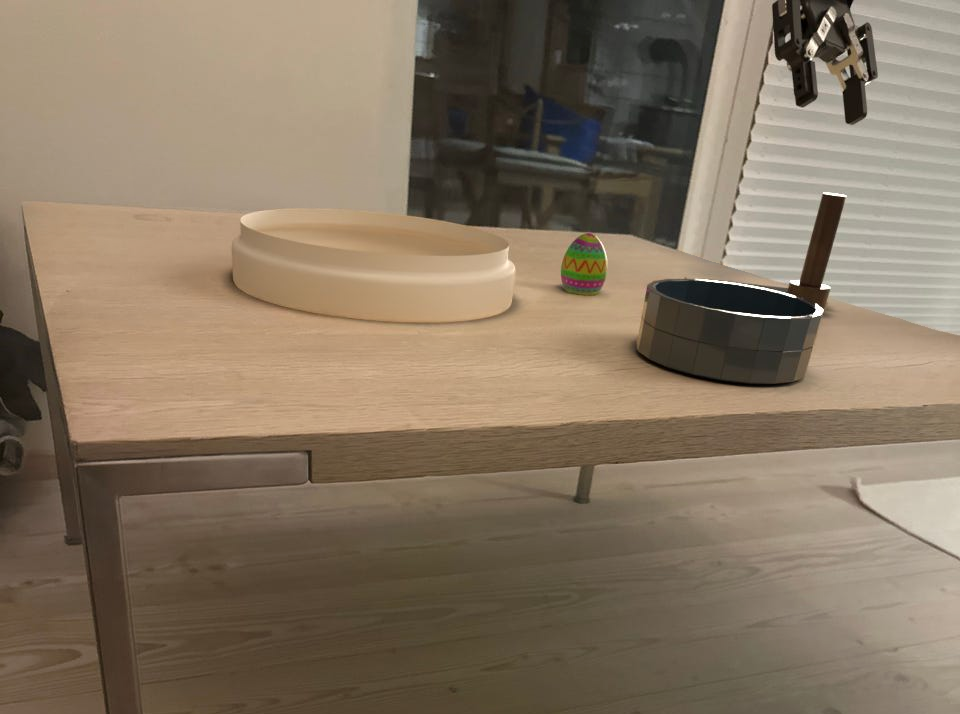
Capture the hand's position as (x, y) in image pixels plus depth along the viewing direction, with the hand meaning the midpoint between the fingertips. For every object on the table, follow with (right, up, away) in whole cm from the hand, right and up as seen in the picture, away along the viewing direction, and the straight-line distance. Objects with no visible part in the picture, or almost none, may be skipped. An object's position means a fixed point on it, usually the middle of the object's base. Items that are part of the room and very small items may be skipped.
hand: (832, 112), depth 97 cm
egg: (-26, -18, +3) cm, 32 cm away
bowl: (-17, -32, -19) cm, 41 cm away
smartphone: (-5, -16, +10) cm, 20 cm away
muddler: (-1, -19, +6) cm, 20 cm away
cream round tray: (-48, -22, -7) cm, 53 cm away
